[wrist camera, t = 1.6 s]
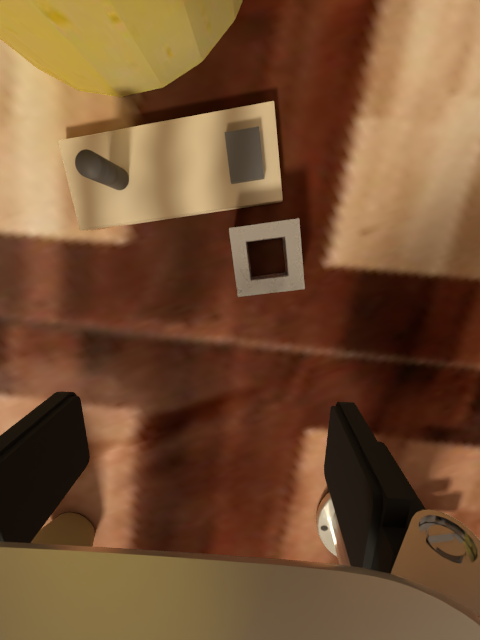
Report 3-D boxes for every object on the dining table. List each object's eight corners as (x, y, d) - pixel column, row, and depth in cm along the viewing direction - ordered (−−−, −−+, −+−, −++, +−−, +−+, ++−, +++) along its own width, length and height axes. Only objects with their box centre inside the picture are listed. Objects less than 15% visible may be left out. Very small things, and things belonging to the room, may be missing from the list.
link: (294, 222, 28) (299, 218, 24) (299, 283, 29) (304, 289, 26) (233, 230, 29) (228, 228, 25) (240, 290, 30) (238, 296, 26)
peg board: (273, 107, 26) (277, 64, 20) (281, 202, 28) (287, 189, 22) (66, 145, 28) (12, 116, 22) (87, 230, 30) (42, 226, 24)
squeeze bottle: (78, 495, 38) (-74, 702, 21) (115, 538, 40) (0, 766, 22) (35, 517, 40) (-141, 727, 22) (71, 558, 41) (-68, 785, 24)
